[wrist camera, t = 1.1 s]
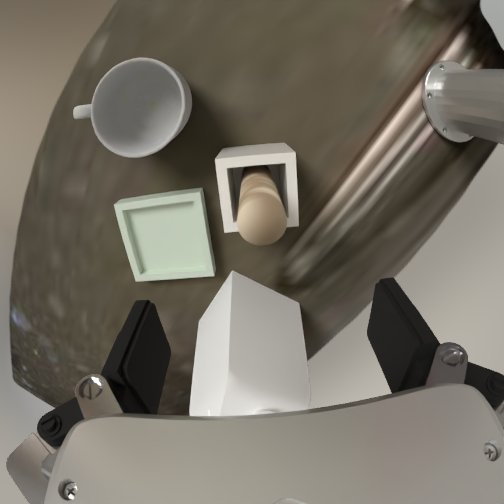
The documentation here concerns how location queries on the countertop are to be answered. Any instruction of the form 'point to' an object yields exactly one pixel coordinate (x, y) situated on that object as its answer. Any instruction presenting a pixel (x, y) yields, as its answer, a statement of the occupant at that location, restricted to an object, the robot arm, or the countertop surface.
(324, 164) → the countertop surface
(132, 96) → the teacup
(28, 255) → the countertop surface
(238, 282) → the milk
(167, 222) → the tray
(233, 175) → the open box
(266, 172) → the dowel
